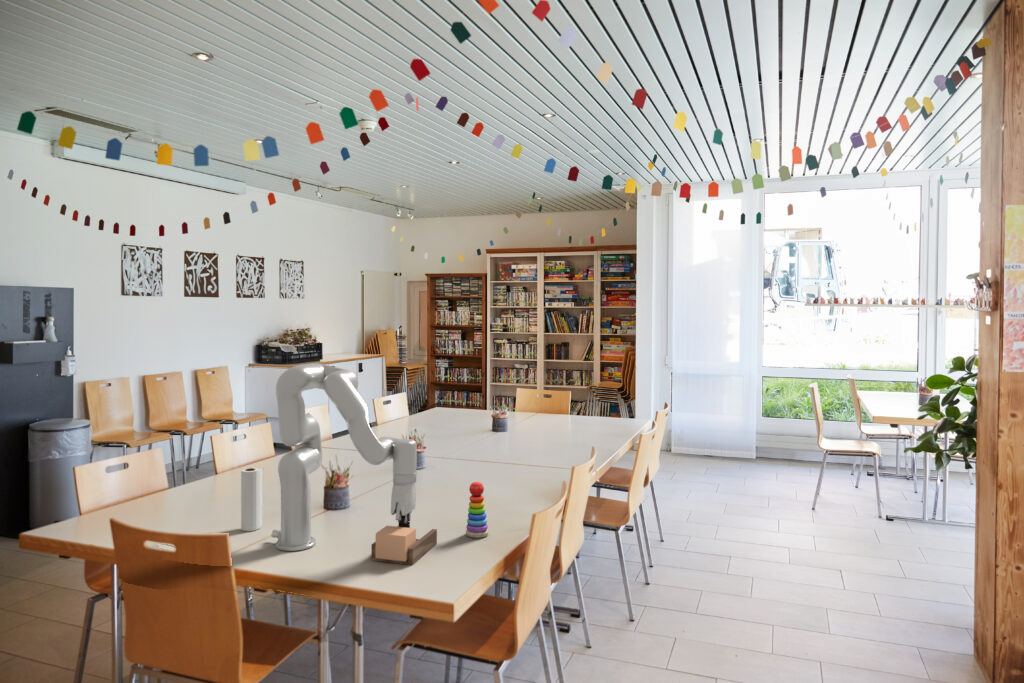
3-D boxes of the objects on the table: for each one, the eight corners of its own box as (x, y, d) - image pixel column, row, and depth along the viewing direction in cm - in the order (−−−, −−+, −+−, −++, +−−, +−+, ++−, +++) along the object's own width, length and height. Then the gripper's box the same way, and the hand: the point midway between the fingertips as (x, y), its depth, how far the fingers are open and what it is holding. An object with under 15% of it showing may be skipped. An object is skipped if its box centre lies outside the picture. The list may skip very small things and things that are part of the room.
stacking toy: (488, 531, 243) (489, 479, 242) (488, 538, 235) (489, 485, 234) (466, 531, 242) (466, 479, 242) (465, 538, 234) (466, 484, 234)
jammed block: (375, 558, 211) (375, 533, 211) (386, 549, 219) (386, 525, 218) (405, 561, 208) (405, 536, 208) (415, 552, 216) (415, 528, 216)
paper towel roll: (240, 532, 237) (240, 471, 237) (242, 527, 243) (242, 467, 242) (262, 530, 239) (262, 470, 239) (263, 525, 245) (263, 466, 244)
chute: (371, 560, 213) (371, 544, 213) (398, 539, 232) (398, 525, 232) (412, 565, 209) (413, 548, 209) (436, 544, 228) (436, 529, 228)
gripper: (403, 472, 227) (402, 526, 228) (383, 482, 213) (383, 540, 213) (424, 473, 225) (423, 528, 226) (405, 484, 211) (405, 542, 211)
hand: (404, 534), depth 219 cm, fingers closed
